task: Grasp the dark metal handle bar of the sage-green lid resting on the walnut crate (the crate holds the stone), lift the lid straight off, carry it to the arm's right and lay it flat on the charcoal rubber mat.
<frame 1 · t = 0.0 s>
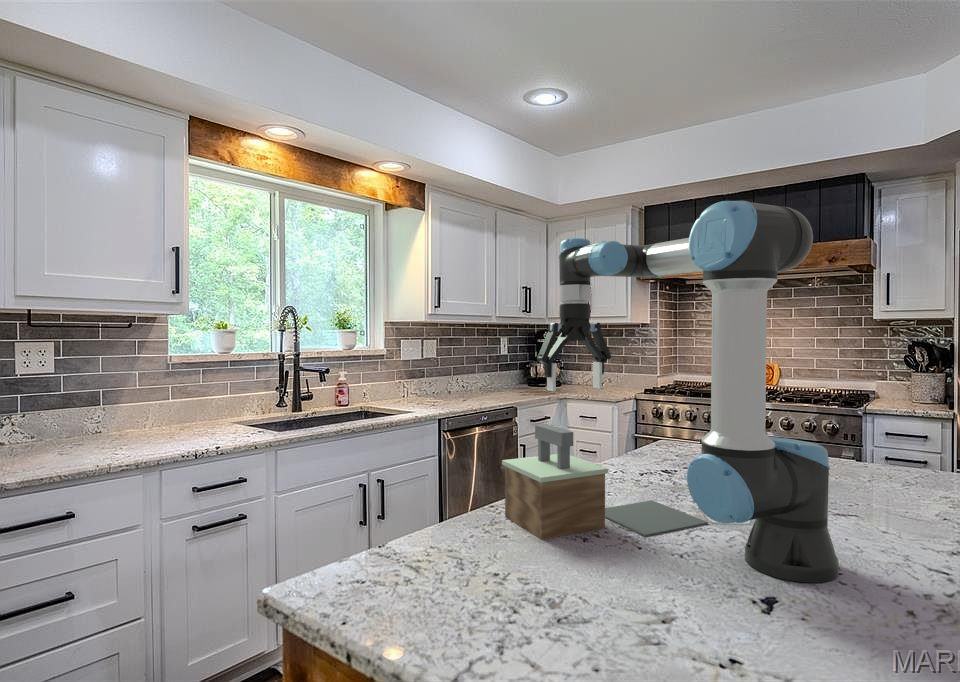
hand: (574, 389, 146), 28 cm above the counter, fingers open, 13 cm apart
mat: (648, 517, 135), on the counter
lid: (553, 468, 132), point 12 cm above the counter, touching crate
crate: (553, 522, 133), on the counter
stone: (553, 523, 132), resting in crate
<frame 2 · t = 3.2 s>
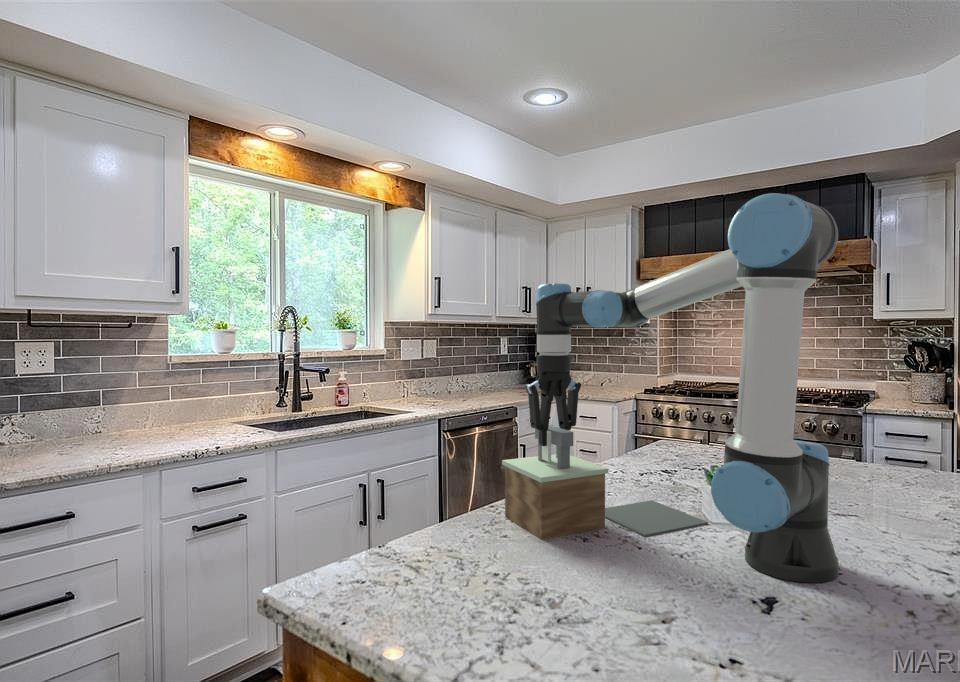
hand: (553, 459, 132), 14 cm above the counter, fingers closed on lid, 3 cm apart
lid: (553, 468, 132), point 12 cm above the counter, touching crate, gripper
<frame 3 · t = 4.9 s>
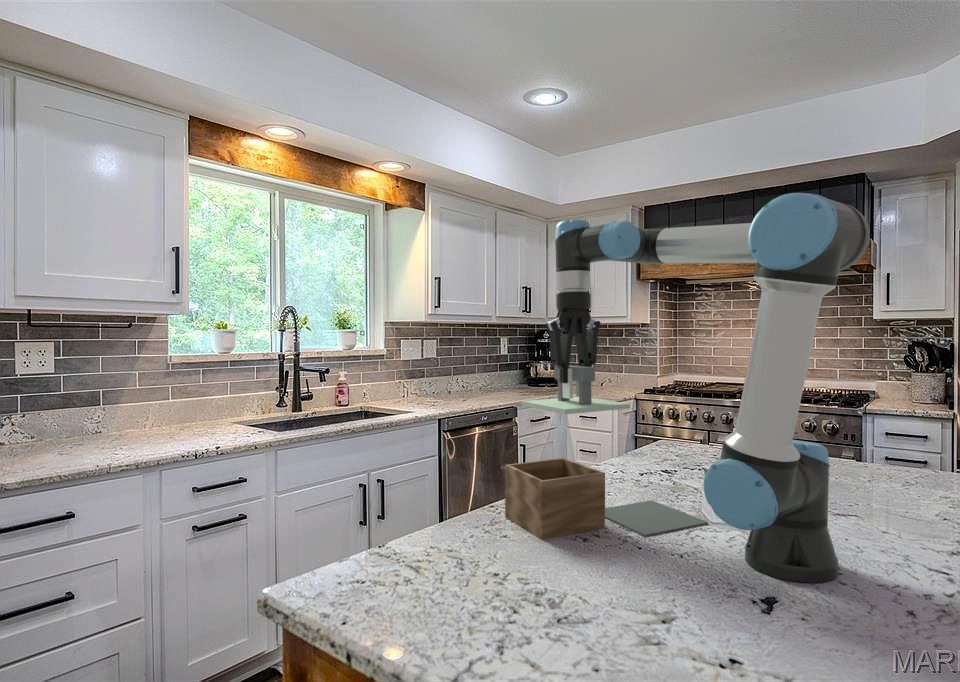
hand: (574, 397, 132), 28 cm above the counter, fingers closed on lid, 3 cm apart
lid: (574, 406, 132), point 26 cm above the counter, touching gripper
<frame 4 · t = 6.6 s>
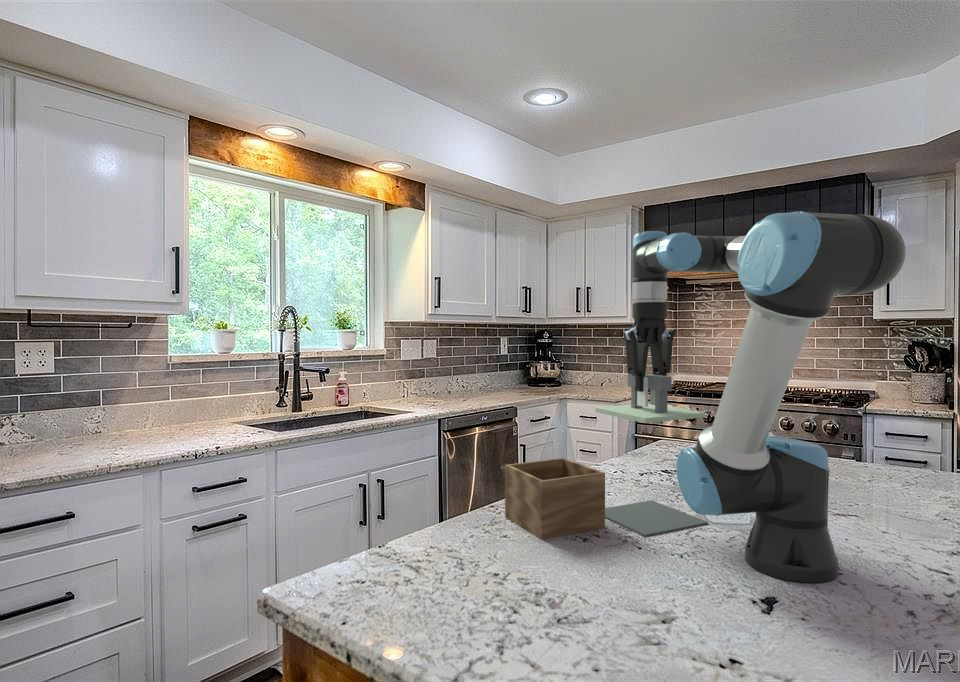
hand: (649, 405, 135), 26 cm above the counter, fingers closed on lid, 3 cm apart
lid: (648, 414, 135), point 24 cm above the counter, touching gripper
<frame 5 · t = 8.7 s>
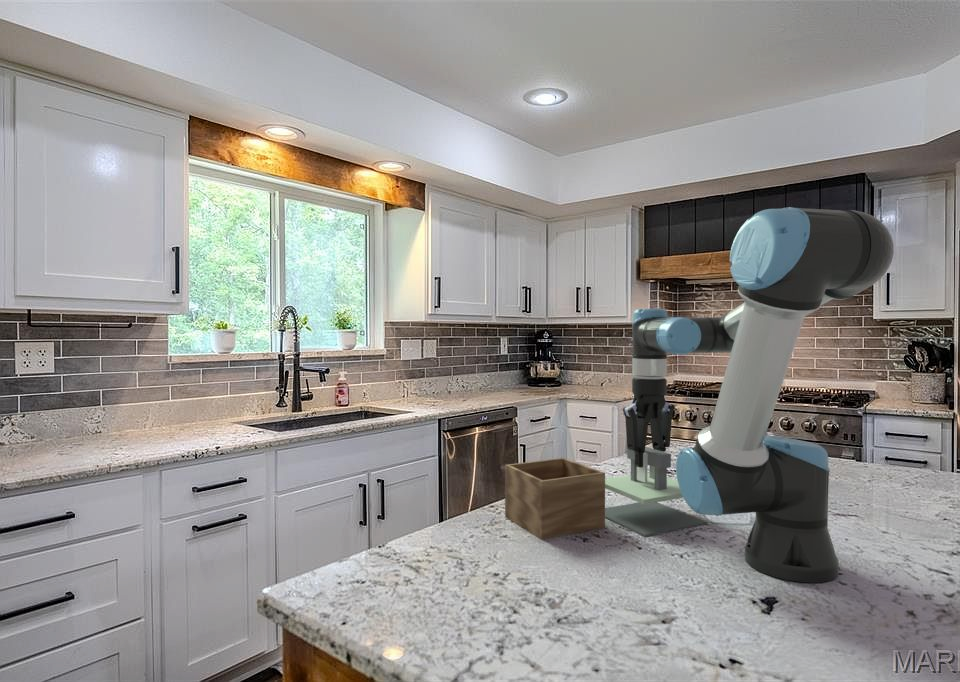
hand: (648, 479, 135), 9 cm above the counter, fingers closed on lid, 3 cm apart
lid: (648, 488, 135), point 7 cm above the counter, touching gripper
when the fingers open (4 cm above the counter, at t = 10.3 s): lid drops 1 cm, resting on mat.
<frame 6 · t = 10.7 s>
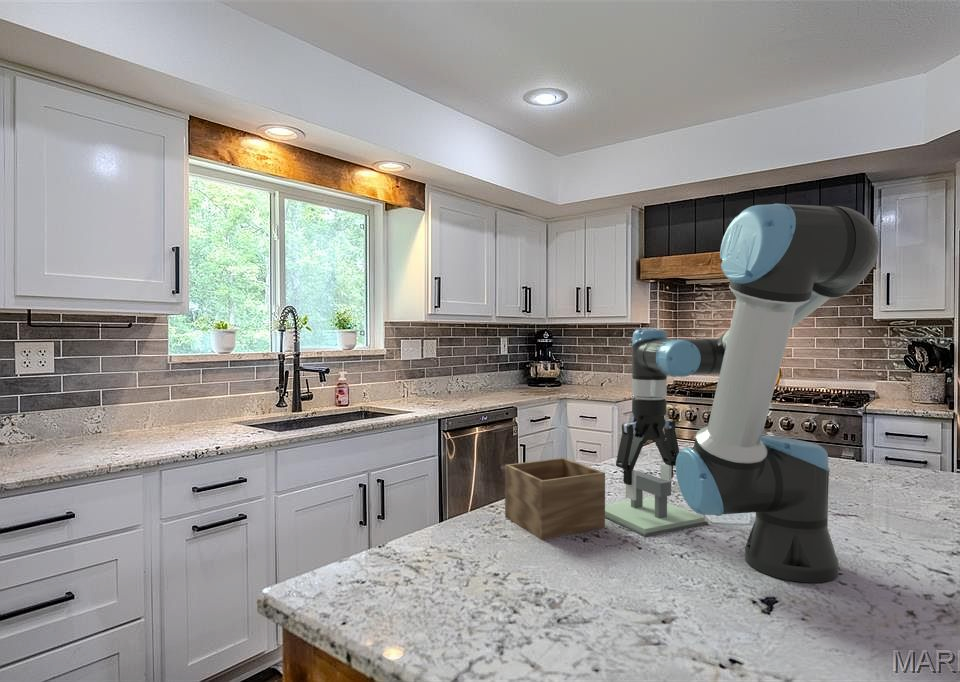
hand: (648, 495, 135), 5 cm above the counter, fingers open, 9 cm apart
lid: (648, 516, 135), resting on mat
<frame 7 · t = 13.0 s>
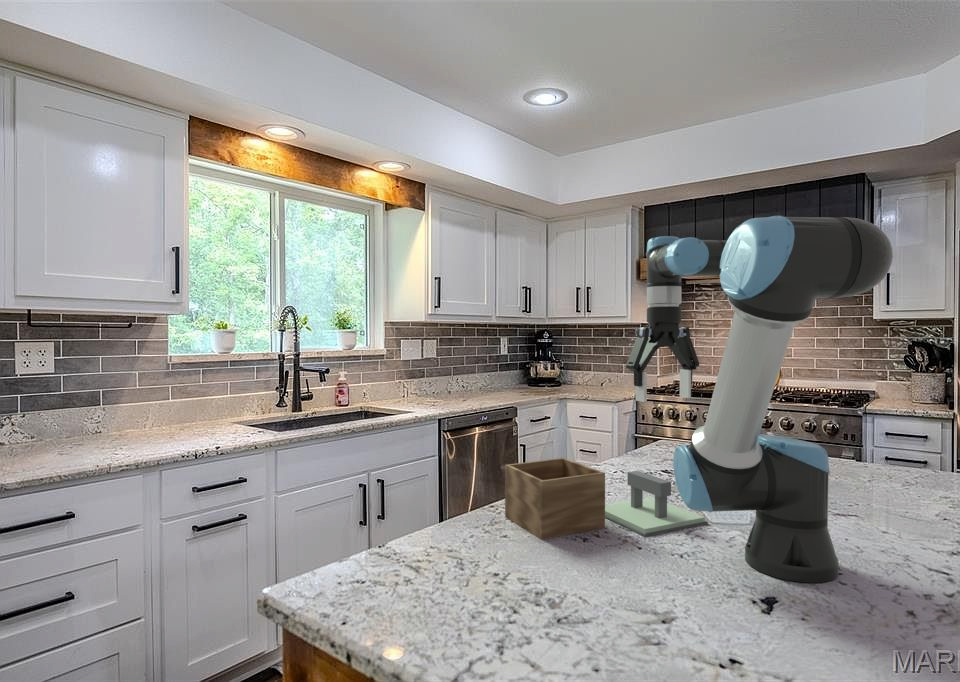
hand: (663, 399, 135), 27 cm above the counter, fingers open, 13 cm apart
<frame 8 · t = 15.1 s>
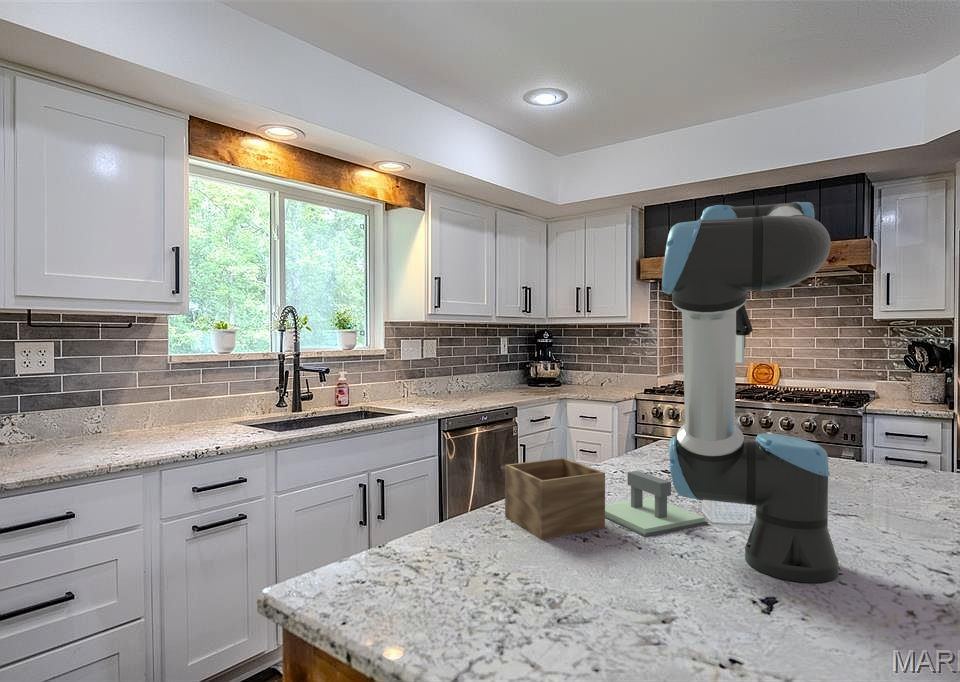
hand: (717, 363, 141), 35 cm above the counter, fingers open, 13 cm apart
at the end: lid inside the target area on the mat (0.0 cm from its centre), point 0.4 cm above the mat's base; lid tilted 0°; the gripper is holding nothing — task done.
